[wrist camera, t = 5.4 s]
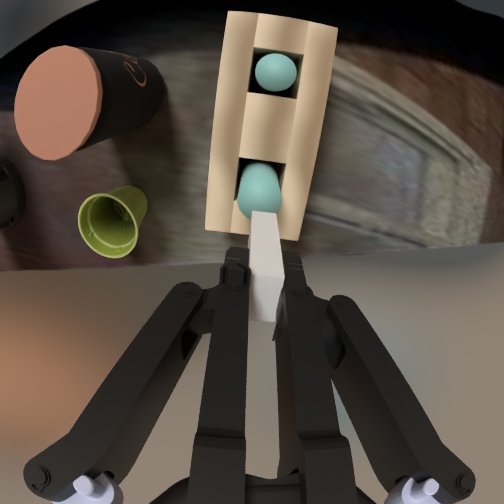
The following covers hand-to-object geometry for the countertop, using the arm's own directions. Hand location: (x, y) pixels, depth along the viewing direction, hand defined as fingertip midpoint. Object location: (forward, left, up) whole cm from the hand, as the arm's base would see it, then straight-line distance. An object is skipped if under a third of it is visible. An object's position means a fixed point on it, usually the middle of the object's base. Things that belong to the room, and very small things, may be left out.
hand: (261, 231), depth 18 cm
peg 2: (0, -1, -17) cm, 17 cm away
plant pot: (-19, -9, -23) cm, 31 cm away
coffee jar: (-19, +8, -23) cm, 30 cm away
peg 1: (0, +11, -22) cm, 24 cm away
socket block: (0, +5, -22) cm, 23 cm away
